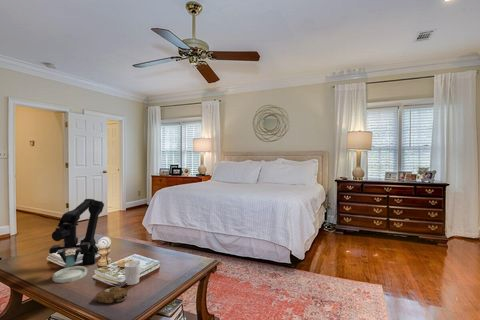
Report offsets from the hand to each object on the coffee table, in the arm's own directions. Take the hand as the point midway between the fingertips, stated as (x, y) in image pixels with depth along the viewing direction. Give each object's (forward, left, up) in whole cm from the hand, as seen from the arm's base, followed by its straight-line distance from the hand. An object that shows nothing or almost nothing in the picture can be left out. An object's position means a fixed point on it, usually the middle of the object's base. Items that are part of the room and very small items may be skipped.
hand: (70, 262), depth 148 cm
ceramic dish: (0, 0, -8) cm, 8 cm away
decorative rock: (-24, +34, -8) cm, 42 cm away
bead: (0, 0, -1) cm, 1 cm away
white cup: (-33, +20, -8) cm, 39 cm away
